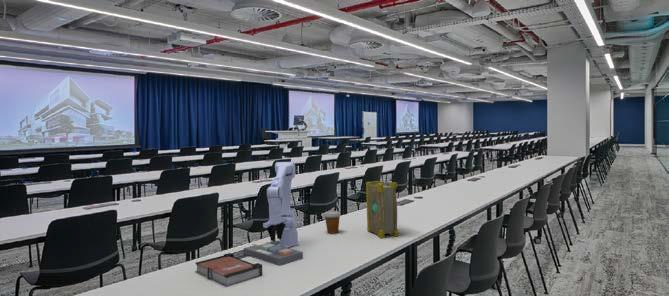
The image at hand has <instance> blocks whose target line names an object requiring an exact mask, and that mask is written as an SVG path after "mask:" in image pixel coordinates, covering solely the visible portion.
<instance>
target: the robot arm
mask: <svg viewBox="0 0 669 296" xmlns="http://www.w3.org/2000/svg"><path fill="white" fill-rule="evenodd" d="M274 171H275V173H276V176H275V177H274V178H273V179H272V182H271V184H270V186H268V187H267V189H266V197H267V203H268V215H269V217H268V218H269V219H268V221H267V222H263V223H262V227H263V228H264V229H266V231H267V233H268V234H269V238H270V241H271V242H276V239H277V240H279V241H278V242H279V243H278V244H277V245H279V246H283V247H287V248H291V247H295V246H299V245H300V244H299V239H298V238H299V236H298V235H299V234H298V233H299V232H298V230H297V229H298V228H296V224H297V220H296V213H295V212H294V211H292V210H291V203H292V201H291V198H292V197H291V195H292V191H291V190H292V179H294V178H295V177H296V163H295V162H294V161H276V162H275V163H274Z"/></svg>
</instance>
